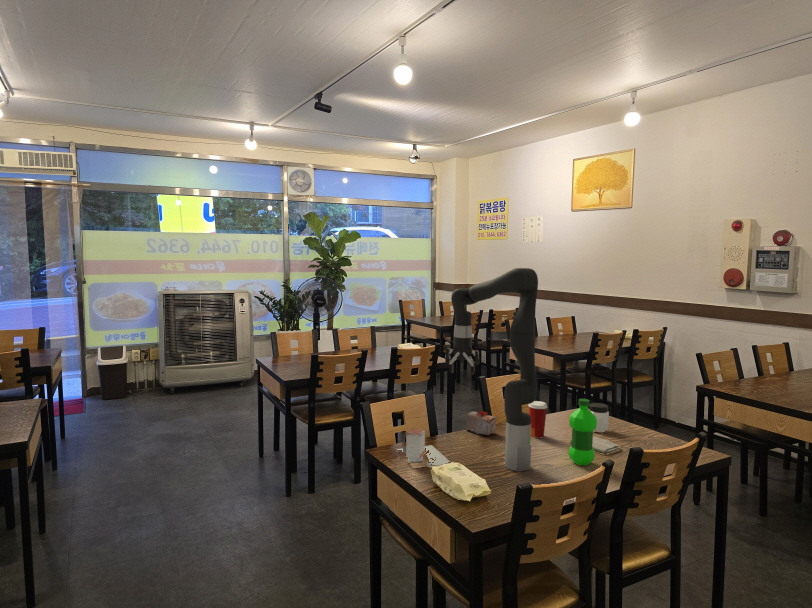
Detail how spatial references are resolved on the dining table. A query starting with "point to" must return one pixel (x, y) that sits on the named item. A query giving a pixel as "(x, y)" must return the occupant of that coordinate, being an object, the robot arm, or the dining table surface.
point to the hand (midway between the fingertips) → (461, 373)
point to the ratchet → (413, 458)
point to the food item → (481, 423)
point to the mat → (434, 453)
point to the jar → (600, 416)
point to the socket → (415, 443)
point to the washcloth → (603, 445)
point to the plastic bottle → (582, 433)
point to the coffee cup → (537, 418)
